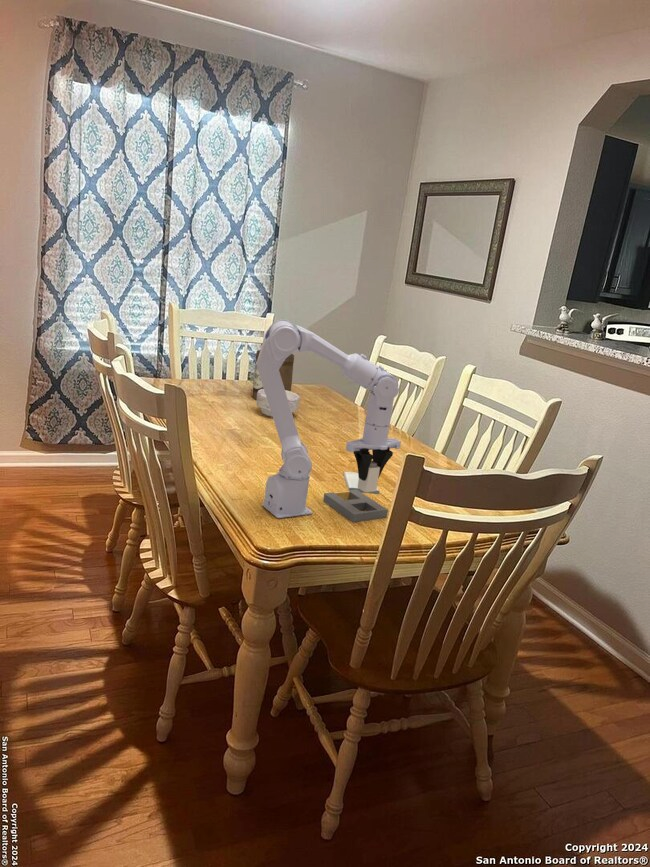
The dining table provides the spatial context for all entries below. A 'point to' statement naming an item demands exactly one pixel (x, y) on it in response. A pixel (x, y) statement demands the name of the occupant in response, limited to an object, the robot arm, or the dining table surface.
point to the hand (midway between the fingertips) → (368, 478)
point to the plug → (370, 479)
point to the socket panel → (355, 505)
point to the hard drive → (355, 482)
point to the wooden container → (284, 371)
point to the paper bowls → (264, 405)
